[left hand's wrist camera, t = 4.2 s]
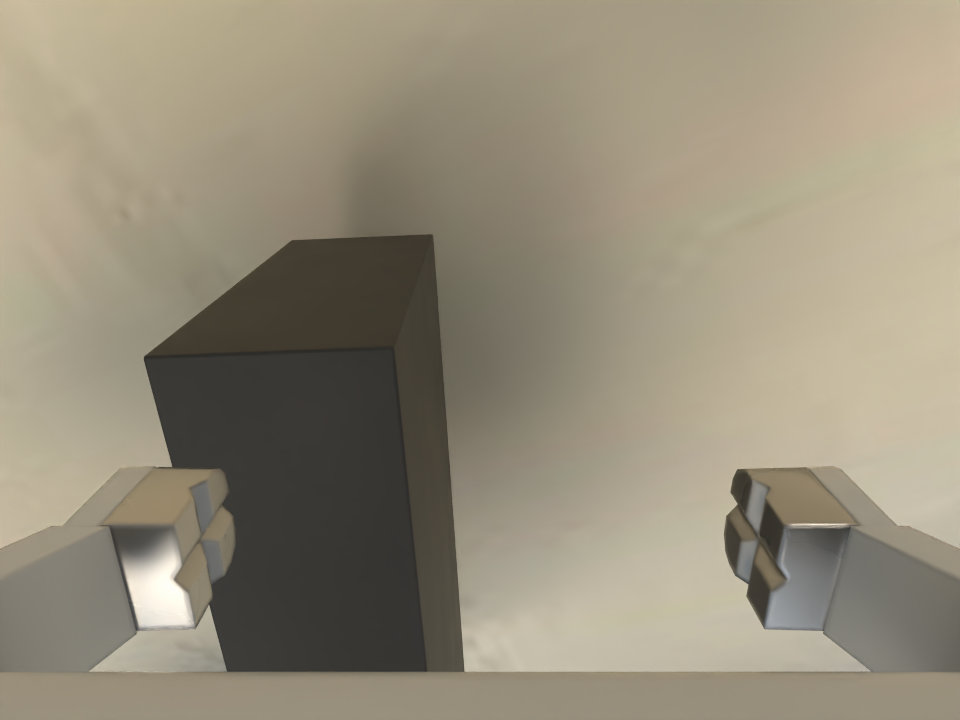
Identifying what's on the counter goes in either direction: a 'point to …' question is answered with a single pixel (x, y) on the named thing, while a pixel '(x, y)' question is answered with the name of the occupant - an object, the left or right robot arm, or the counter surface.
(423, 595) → the box
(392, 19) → the counter surface
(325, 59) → the counter surface
